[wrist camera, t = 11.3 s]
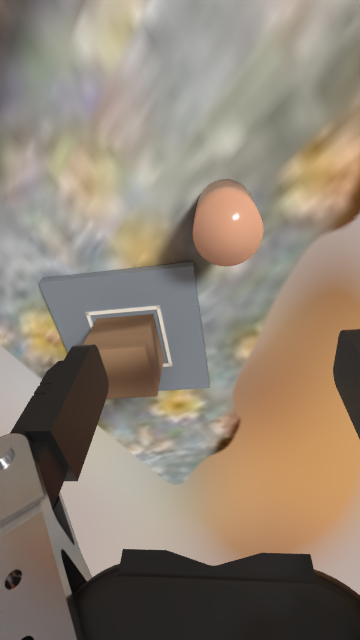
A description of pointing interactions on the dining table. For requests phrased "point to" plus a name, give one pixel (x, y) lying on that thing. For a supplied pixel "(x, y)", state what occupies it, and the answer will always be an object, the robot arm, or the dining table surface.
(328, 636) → the robot arm
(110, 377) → the walnut block
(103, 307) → the board
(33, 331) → the dining table surface
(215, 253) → the terracotta cylinder
